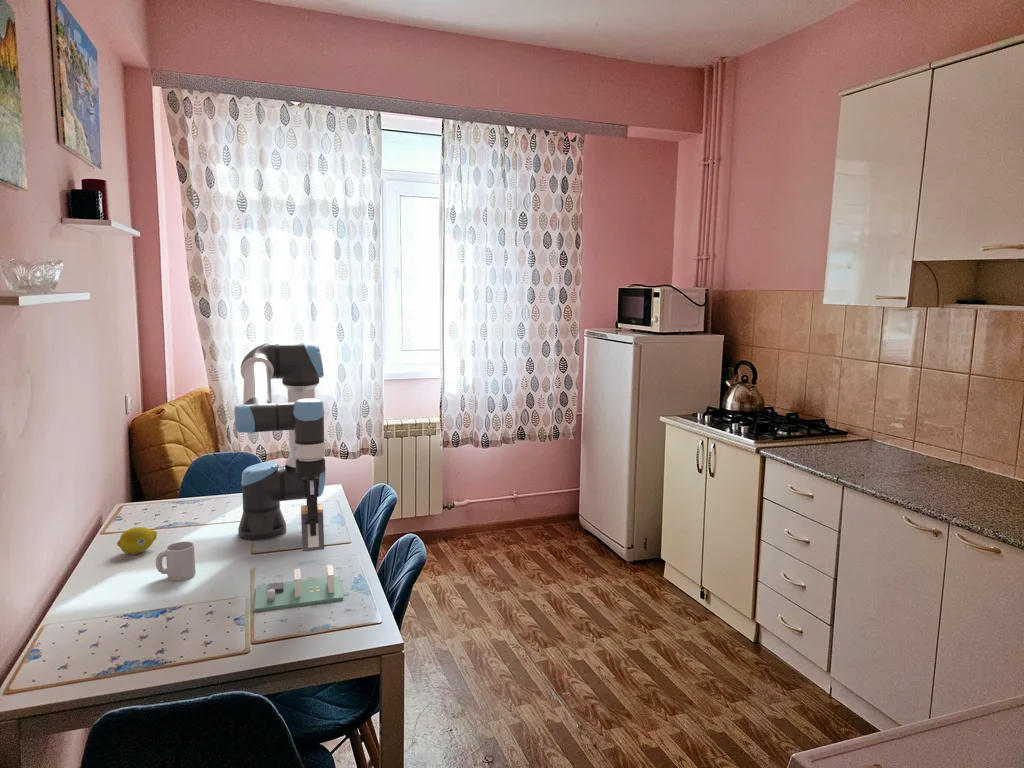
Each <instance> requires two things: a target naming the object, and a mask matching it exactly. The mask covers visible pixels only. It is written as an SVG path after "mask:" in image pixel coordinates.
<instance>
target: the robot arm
mask: <svg viewBox="0 0 1024 768" xmlns="http://www.w3.org/2000/svg"><path fill="white" fill-rule="evenodd" d="M240 375H241V377H242V379H243V401H242V404H238V405H236V406H235V407H234V428H235V431H236V432H237V433H245V434H246V433H249V434H253V433H261V432H263V433H265V432H279V431H283V432H284V431H288V438H289V439H288V442H289V444H288V445H289V456H288V457H287V458H286V459H285V461H284V464H285V465H283V466H280V465H279V463H278V462H276V461H266V462H265V461H264V462H259V463H256V464H252V465H250V466H248V467H246V468H245V469H243V471H242V472H241V483H240V485H241V491H242V492H241V493H242V495H241V496H242V515H241V518H240V521H239V525H238V528H237V531H238V537H239V538H240V539H242V540H247V541H263V540H270V539H274V538H276V537H280V536H282V535H284V534H285V533H286V532H287V523H286V520H285V517H284V515H283V512H282V510H281V502H285V501H287V502H288V501H295V500H298V501H299V500H306V505H307V509H308V521H307V522H305V525H306V524H307V527H308V548H310V547H319V533H318V522H319V521H318V507H317V504H318V498H319V497H321V496H323V493H324V490H325V486H326V471H327V468H326V458H325V456H326V440H325V409H324V401H322V400H321V399H319V398H316V390H315V389H316V387H317V386H318V385H319V384H320V379H322V378H323V377H325V373H324V365H323V360H322V354H321V349H320V347H319V344H318V343H316V342H310V341H309V342H308V341H288V342H266V343H263V344H261V345H258V346H256V347H255V348H252V349H251V350H250V351H249V352H248V353H247V354H245V356H244V357H243V358H242V361H241V364H240ZM274 379H275V380H277V379H278V380H279V379H281V382H282V383H281V384H282V386H284V387H285V388H286V389H287V402H275V403H273V402H272V401H273V399H272V382H271V381H272V380H274Z"/></svg>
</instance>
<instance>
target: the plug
mask: <svg viewBox="0 0 1024 768" xmlns="http://www.w3.org/2000/svg"><path fill="white" fill-rule="evenodd" d="M317 507H318V521H319V522H318V533H319V547H310V548H308V527H307V524H306V525H305V522H307V521H308V509H307V504H305V505H300V517H301V520H300V522H301V523H300V524H301V547H302V548H301V549H302V552H305V553H306V552H312V551H313V552H314V551H322V550H325V535H324V533H325V529H324V527H325V526H324V508H323V503H317Z"/></svg>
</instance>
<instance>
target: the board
mask: <svg viewBox="0 0 1024 768" xmlns="http://www.w3.org/2000/svg"><path fill="white" fill-rule="evenodd" d="M301 576H302V575H301V568H294V581H286V582H284V581H282V582H275V583H268V584H263V585H262V584H261V585H256V588H255V597H254V598H255V599H254V607H253V612H254V613H256V612H263V611H271V610H278V609H287V608H293V607H300V606H308V605H316V604H323V603H331V602H337V601H338V602H339V601H344V595H343V594H344V593H343V588H342V582H341V576H340V575H335V573H334V566H333V564H327V565H326V576H325V577H319V578H317V577H316V578H310V579H303V580H302V578H301Z"/></svg>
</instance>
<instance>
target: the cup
mask: <svg viewBox="0 0 1024 768" xmlns="http://www.w3.org/2000/svg"><path fill="white" fill-rule="evenodd" d="M194 543H195V542H191V541H178V542H174V543H171V544H168V545H167V546H166V547H165V550H164V551H161V552H159V553H158V554H157V555H156V558H155V566H156V569H157V571H158V573H160V574H162V575H167V578H168V580H169V581H172V582H183V581H186V580H189V579H191V578H193V577H194V576H195V575H196V556H195V544H194ZM164 557H166V559H165V560H166V561H165V562H166V568H165V567H164V565H163V558H164Z"/></svg>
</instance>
